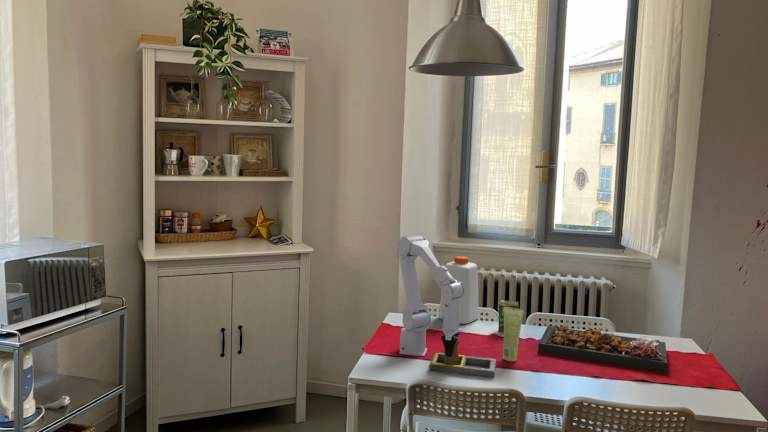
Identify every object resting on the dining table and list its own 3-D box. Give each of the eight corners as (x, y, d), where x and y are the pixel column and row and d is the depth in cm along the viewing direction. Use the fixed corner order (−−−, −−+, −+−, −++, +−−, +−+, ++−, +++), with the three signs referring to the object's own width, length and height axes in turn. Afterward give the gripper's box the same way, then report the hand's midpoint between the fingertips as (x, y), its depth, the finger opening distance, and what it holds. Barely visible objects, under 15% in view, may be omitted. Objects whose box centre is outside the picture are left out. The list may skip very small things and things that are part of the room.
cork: (459, 370, 217) (460, 339, 216) (442, 369, 218) (442, 338, 217) (460, 365, 223) (461, 334, 222) (443, 363, 224) (444, 333, 223)
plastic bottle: (452, 311, 289) (454, 252, 285) (481, 318, 280) (484, 257, 276) (435, 319, 277) (438, 257, 273) (465, 326, 268) (468, 262, 264)
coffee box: (497, 331, 262) (498, 301, 260) (498, 329, 265) (500, 299, 263) (516, 334, 259) (518, 303, 258) (517, 332, 262) (519, 301, 260)
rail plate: (429, 371, 216) (430, 363, 216) (434, 359, 228) (434, 352, 228) (493, 378, 212) (494, 370, 211) (495, 365, 223) (496, 358, 223)
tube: (513, 356, 233) (516, 305, 231) (520, 361, 229) (524, 309, 226) (500, 357, 231) (503, 306, 229) (507, 362, 227) (510, 310, 224)
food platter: (664, 353, 244) (666, 327, 242) (666, 375, 221) (669, 347, 220) (546, 335, 261) (548, 311, 259) (537, 354, 238) (539, 328, 237)
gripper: (460, 323, 210) (459, 361, 212) (464, 311, 224) (463, 347, 226) (440, 321, 212) (438, 359, 214) (445, 309, 226) (443, 345, 228)
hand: (449, 353), depth 220 cm, fingers closed on cork, 5 cm apart
